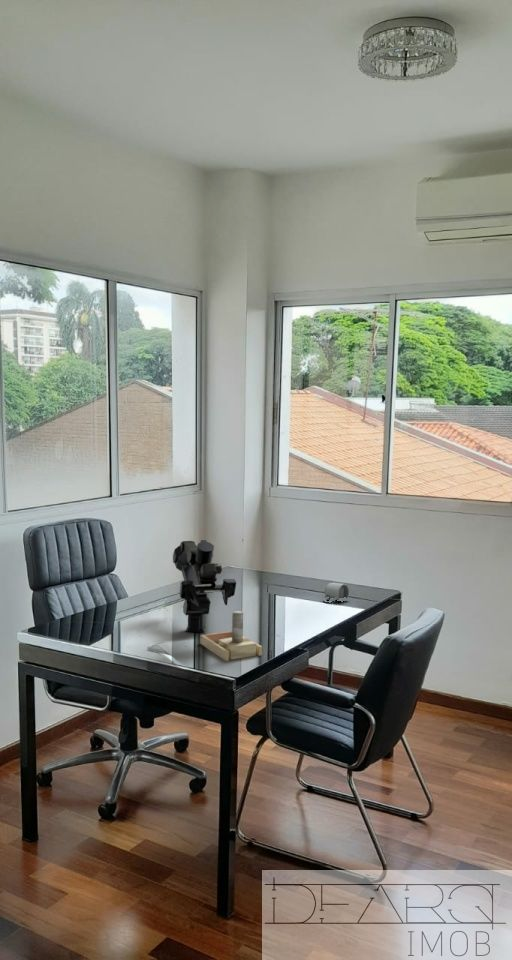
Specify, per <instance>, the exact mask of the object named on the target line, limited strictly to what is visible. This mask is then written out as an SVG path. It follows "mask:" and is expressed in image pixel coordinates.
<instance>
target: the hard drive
mask: <svg viewBox="0 0 512 960" xmlns="http://www.w3.org/2000/svg"><path fill="white" fill-rule="evenodd" d="M167 643H168V641H167V642H166V641H160V642H157V643H154V644H151V645H150V646H147V651H150V652H154V653H158V654H163V655H167V656H170V657H172V654H171V653H169V652H168V651H166V650H165V649H164V648H162V647H161V646H160V645H162V644H167Z"/></svg>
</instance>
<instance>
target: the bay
mask: <svg viewBox="0 0 512 960" xmlns="http://www.w3.org/2000/svg"><path fill="white" fill-rule="evenodd" d="M243 636H244V637H246V638H248V637H247V636H245V635H243ZM225 638H232V630H230V631H222V632H215V633H208V634H200V641H199V642H200V645H202V646H203V647H204V648H206V649H207V650H209V651H211V653H213V654H215V655H217V656H218V657H219V658H220V659H222V660H224V661H230V658H229V651H228V650H226V649H225V648H223V647H221V646H220V645H219V639H225ZM248 639H249V640H251V641H253V640H252V639H250V638H248ZM253 642H254V643H256V656H257V655H258V656H259V657H260V656H263V646H262V645H260V643H257V642H255V641H253Z"/></svg>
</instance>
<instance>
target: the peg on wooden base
mask: <svg viewBox="0 0 512 960" xmlns="http://www.w3.org/2000/svg"><path fill="white" fill-rule="evenodd" d="M231 615H232V617H231V618H232V622H231V624H232V626H231V627H232V628H231V631H232V638H225V639H219V642H218V645H220V646H221V647H223V648H225V649H226V650H228V651H229V660H234V659H241V658H242V659H243V658H248V657H249V658H250V657H256V656H257V654H256V643H257V642H255V641H254V642H255V643H254V642H253V640H252V639H250V638H248V637H247V636H245V635H244V611H240V610H239V611H238V610H236V611H232V614H231ZM244 636H245V637H244ZM246 637H247V638H246ZM249 639H250V640H249ZM251 640H252V641H251Z"/></svg>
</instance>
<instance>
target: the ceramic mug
mask: <svg viewBox="0 0 512 960" xmlns="http://www.w3.org/2000/svg"><path fill="white" fill-rule="evenodd" d="M349 595H350V589H349V586H348V585H347V584H346V583H340V582H339V583H337V582H329V583H328V584H326V586H325V589H324V596H323V598H322V599H323V600H324V598H326V597H329V598H333V599H328V600H329V601H334V602H336V601H335V600H339V598H344V597H346V598H348V599H349ZM326 599H327V598H326Z"/></svg>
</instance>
